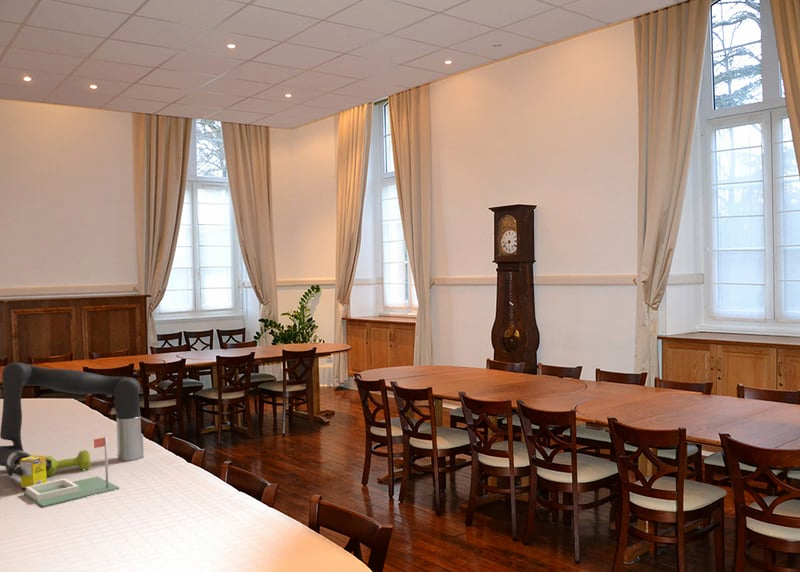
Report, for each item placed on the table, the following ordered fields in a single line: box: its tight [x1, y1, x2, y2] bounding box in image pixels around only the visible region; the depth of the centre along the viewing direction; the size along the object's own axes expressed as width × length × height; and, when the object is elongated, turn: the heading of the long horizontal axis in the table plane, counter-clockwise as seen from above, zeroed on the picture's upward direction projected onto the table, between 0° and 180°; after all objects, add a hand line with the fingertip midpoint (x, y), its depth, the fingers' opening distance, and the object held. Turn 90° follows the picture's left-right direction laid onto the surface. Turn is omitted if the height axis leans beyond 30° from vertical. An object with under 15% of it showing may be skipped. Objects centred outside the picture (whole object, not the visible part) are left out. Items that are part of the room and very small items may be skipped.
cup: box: [23, 436, 120, 508], centre depth 238 cm, size 25×20×19 cm
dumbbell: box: [46, 449, 91, 477], centre depth 263 cm, size 16×8×7 cm, turn 125°
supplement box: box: [20, 454, 48, 491], centre depth 244 cm, size 6×6×11 cm
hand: (34, 470), depth 243 cm, fingers open, 8 cm apart
